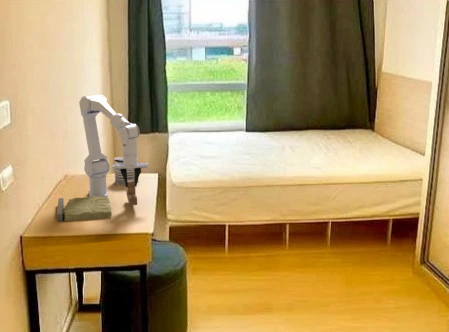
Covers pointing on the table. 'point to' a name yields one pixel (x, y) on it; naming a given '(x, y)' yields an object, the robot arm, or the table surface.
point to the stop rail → (60, 209)
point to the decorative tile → (87, 208)
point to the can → (118, 175)
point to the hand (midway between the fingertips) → (131, 186)
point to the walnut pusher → (131, 192)
